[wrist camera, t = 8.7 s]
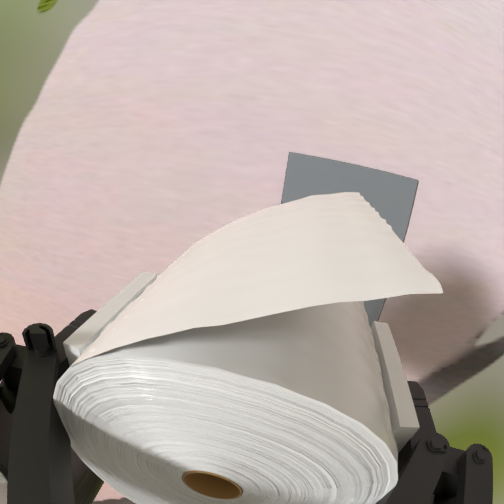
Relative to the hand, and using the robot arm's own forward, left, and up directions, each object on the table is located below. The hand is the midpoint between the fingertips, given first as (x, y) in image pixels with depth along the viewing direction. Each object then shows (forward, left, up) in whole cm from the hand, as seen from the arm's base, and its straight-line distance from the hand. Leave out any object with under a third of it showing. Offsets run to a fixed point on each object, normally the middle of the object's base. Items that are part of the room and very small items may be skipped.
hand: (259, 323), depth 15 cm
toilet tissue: (0, 0, -1) cm, 2 cm away
